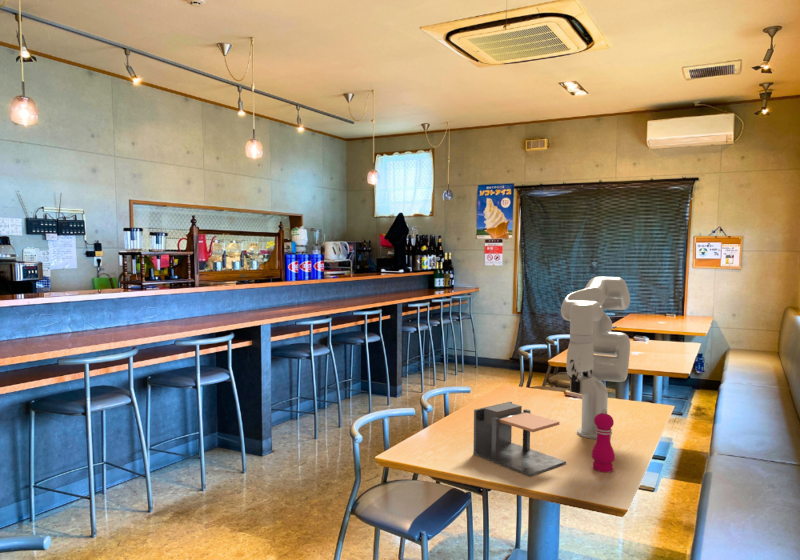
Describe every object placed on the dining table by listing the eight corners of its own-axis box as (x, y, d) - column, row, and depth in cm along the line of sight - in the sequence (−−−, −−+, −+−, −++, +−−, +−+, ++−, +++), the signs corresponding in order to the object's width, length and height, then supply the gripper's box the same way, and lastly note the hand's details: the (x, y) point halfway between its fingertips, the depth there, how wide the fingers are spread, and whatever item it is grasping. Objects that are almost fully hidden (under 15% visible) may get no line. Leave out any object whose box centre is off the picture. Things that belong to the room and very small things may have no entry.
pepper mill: (587, 464, 189) (589, 406, 188) (608, 464, 189) (609, 405, 189) (597, 473, 182) (598, 412, 181) (618, 472, 182) (619, 411, 181)
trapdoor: (509, 416, 206) (509, 402, 206) (559, 430, 189) (559, 415, 189) (483, 422, 197) (483, 408, 197) (532, 438, 180) (533, 423, 180)
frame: (509, 443, 209) (509, 401, 209) (566, 463, 190) (567, 416, 189) (473, 454, 198) (474, 409, 197) (530, 476, 178) (530, 427, 177)
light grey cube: (578, 389, 198) (578, 375, 197) (590, 392, 194) (591, 378, 194) (569, 391, 195) (570, 377, 194) (582, 394, 191) (582, 380, 190)
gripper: (586, 335, 201) (585, 384, 202) (556, 340, 191) (556, 392, 192) (604, 337, 195) (603, 389, 197) (576, 343, 185) (575, 397, 186)
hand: (580, 390), depth 194 cm, fingers closed on light grey cube, 5 cm apart
